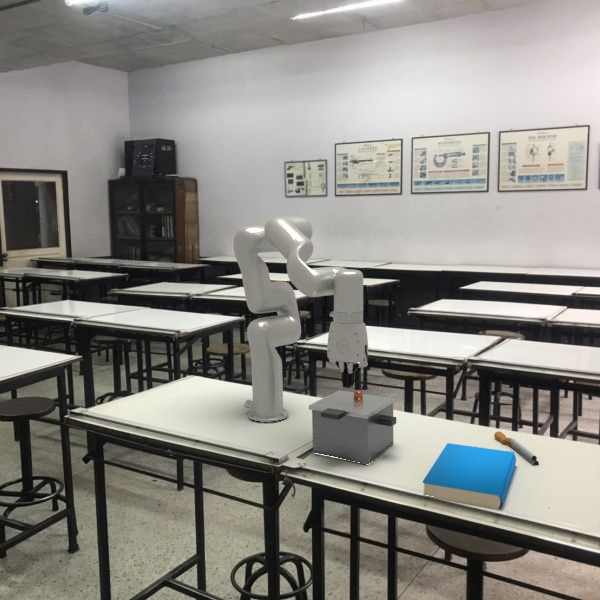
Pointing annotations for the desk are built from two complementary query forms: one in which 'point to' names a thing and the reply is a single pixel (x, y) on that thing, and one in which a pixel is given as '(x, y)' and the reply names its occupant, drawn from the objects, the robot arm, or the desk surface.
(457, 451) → the book
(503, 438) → the orange and grey rod
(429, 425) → the desk surface
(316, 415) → the grey open box
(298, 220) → the robot arm
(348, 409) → the cooker lid
